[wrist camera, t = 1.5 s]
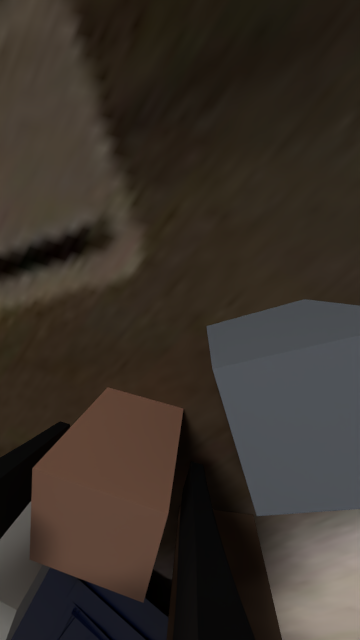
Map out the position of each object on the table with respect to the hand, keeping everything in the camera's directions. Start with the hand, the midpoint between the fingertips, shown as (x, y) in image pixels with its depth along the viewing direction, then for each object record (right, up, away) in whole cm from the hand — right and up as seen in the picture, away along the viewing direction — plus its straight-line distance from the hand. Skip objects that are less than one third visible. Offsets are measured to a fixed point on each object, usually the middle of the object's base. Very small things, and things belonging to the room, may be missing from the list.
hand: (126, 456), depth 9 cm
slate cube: (+8, +6, 0) cm, 9 cm away
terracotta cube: (0, 0, +2) cm, 2 cm away
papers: (-1, -24, +7) cm, 25 cm away
